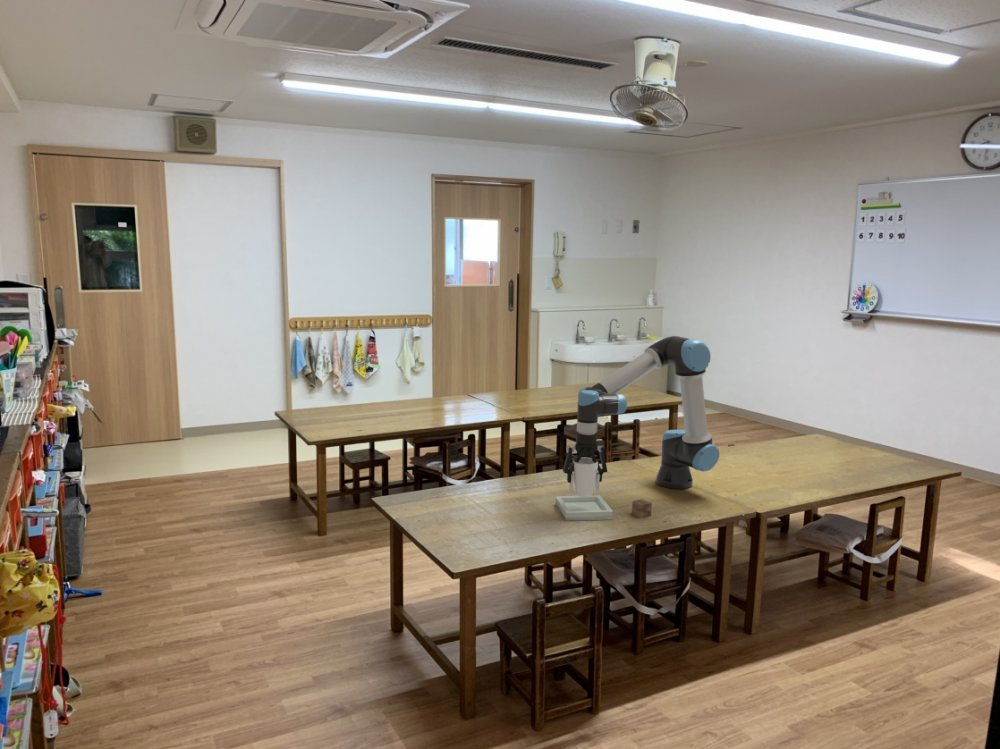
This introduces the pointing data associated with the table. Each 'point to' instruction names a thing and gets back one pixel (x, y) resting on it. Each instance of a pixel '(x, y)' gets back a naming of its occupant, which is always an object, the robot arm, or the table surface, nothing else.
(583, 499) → the tray
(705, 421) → the robot arm
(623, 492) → the table surface
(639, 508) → the walnut block
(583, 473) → the foam cup
